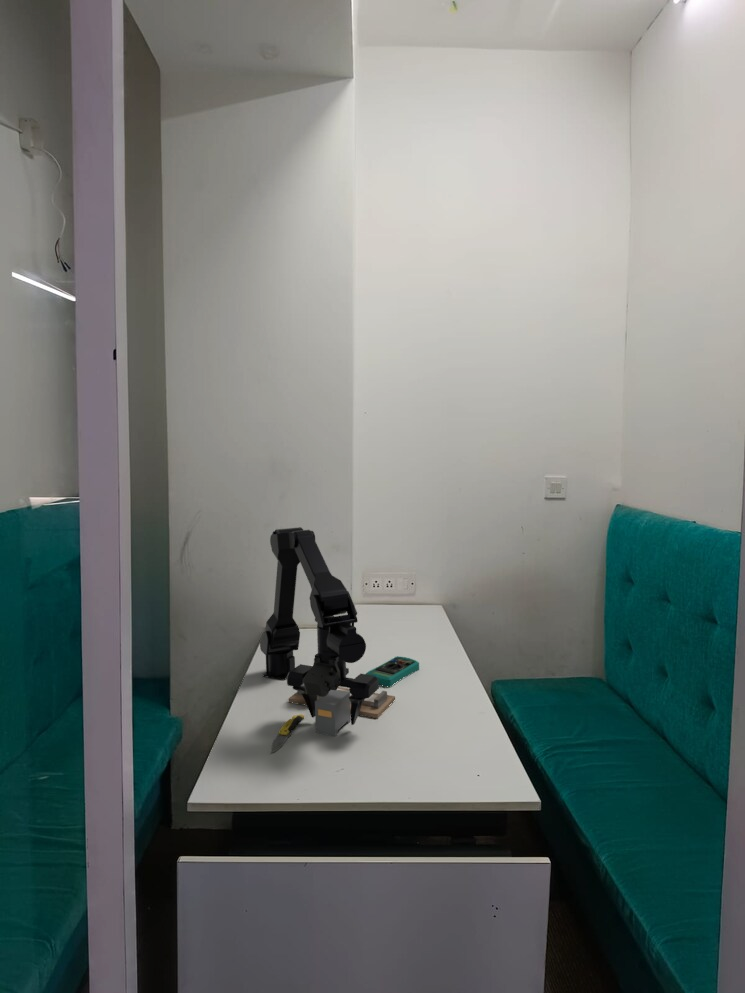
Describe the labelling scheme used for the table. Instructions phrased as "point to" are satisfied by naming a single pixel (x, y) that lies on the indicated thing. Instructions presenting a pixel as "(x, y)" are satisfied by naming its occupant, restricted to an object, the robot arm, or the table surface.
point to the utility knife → (286, 731)
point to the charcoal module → (332, 712)
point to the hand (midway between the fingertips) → (333, 720)
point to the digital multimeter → (394, 670)
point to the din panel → (369, 707)
